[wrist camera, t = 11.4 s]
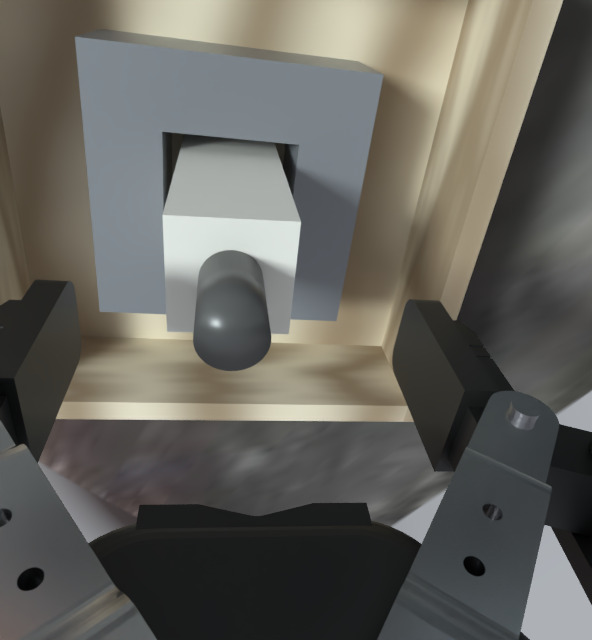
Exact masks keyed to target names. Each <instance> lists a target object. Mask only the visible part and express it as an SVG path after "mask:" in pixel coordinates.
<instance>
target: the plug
mask: <svg viewBox="0 0 592 640" xmlns="http://www.w3.org/2000/svg"><path fill="white" fill-rule="evenodd" d="M162 217H163V242H164V268H165V294H166V319H167V332H191V333H193V345H194V348H195V351H196V353H197V354H198V356H199V357H200V358H201V359H202V360H203V361H204V362H205V363H206V364H208V365H210V366H211V367H214V368H216V369H219V370H224V371H239V370H244V369H247V368H250V367H252V366H254V365H255V364H257V363H258V362H260V361H261V360H262V359H263V358H264V357H265V355H266V354H267V353H268V351H269V348H270V345H271V334H289V328H290V319H291V310H292V300H293V291H294V282H295V273H296V264H297V255H298V246H299V236H300V227H301V220H300V217H299V214H298V211H297V208H296V205H295V202H294V199H293V196H292V193H291V191H290V188H289V185H288V182H287V179H286V176H285V173H284V170H283V167H282V164H281V161H280V158H279V155H278V152H277V149H276V146H275V143H274V142H264V141H254V140H243V139H233V138H223V137H212V136H202V135H192V134H184V137H183V141H182V145H181V148H180V152H179V156H178V159H177V163H176V167H175V171H174V174H173V178H172V182H171V185H170V189H169V193H168V196H167V200H166V204H165V207H164V211H163V215H162Z"/></svg>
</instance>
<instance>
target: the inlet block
mask: <svg viewBox="0 0 592 640" xmlns="http://www.w3.org/2000/svg"><path fill="white" fill-rule="evenodd" d="M75 43H76V54H77V65H78V76H79V88H80V99H81V110H82V121H83V132H84V143H85V154H86V165H87V176H88V187H89V198H90V209H91V220H92V231H93V242H94V254H95V265H96V276H97V287H98V298H99V309H100V312H119V313H144V314H166V294H165V268H164V242H163V217H162V215H163V211H164V207H165V204H166V200H167V196H168V193H169V189H170V185H171V182H172V133H181V134H192V135H202V136H212V137H223V138H233V139H243V140H254V141H264V142H274V143H285V152H284V161H283V170H284V173H285V176H286V179H287V182H288V185H289V188H290V191H291V193H292V196H293V199H294V202H295V205H296V208H297V211H298V214H299V217H300V220H301V227H300V236H299V246H298V255H297V264H296V273H295V282H294V291H293V300H292V310H291V319H293V320H318V321H337V316H338V311H339V305H340V300H341V295H342V290H343V285H344V279H345V274H346V269H347V264H348V258H349V253H350V248H351V243H352V237H353V232H354V227H355V222H356V216H357V211H358V206H359V201H360V196H361V190H362V185H363V180H364V175H365V169H366V164H367V159H368V154H369V148H370V143H371V138H372V133H373V128H374V122H375V117H376V112H377V107H378V101H379V96H380V91H381V86H382V80H383V75H384V74H382V73H380V72H378V71H376V70H374V69H372V68H370V67H368V66H366V65H364V64H363V63H361V62H359V61H353V60H345V59H337V58H329V57H321V56H313V55H305V54H297V53H289V52H281V51H273V50H265V49H257V48H249V47H241V46H234V45H226V44H218V43H210V42H202V41H194V40H186V39H178V38H170V37H162V36H154V35H146V34H138V33H130V32H122V31H114V30H106V29H98V30H95V31H92V32H88V33H85V34H82V35H79V36H75Z"/></svg>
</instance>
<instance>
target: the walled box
mask: <svg viewBox="0 0 592 640" xmlns="http://www.w3.org/2000/svg"><path fill="white" fill-rule="evenodd" d="M562 3H563V0H0V305H2V304H3V303H5V302H7V301H8V300H21V299H22V298H23V297H24V295H25V294H26V292H27V291H28V289H29V288H30V286H31V285H32V283H33V282H34V281H35V280H37V279H40V280H59V281H71V282H72V283H73V285H74V288H75V295H76V302H77V310H78V318H79V326H80V333H81V354H80V359H79V363H78V366H77V368H76V371H75V373H74V375H73V378H72V380H71V383H70V385H69V388H68V390H67V392H66V395H65V397H64V400H63V402H62V405H61V407H60V409H59V412H58V414H57V417H56V419H133V420H263V421H392V422H414V420H413V418H412V416H411V413H410V411H409V408H408V406H407V404H406V401H405V399H404V396H403V394H402V391H401V389H400V387H399V384H398V382H397V379H396V377H395V374H394V371H393V365H392V356H393V349H394V345H395V341H396V337H397V334H398V330H399V326H400V322H401V319H402V315H403V311H404V307H405V305H406V303H407V301H408V300H409V299H419V300H438V301H440V302H441V303H442V305H443V306H444V308H445V309H446V311H447V312H448V314H449V315H450V317H451V318H452V320H457V317H458V314H459V311H460V308H461V305H462V302H463V299H464V296H465V293H466V290H467V287H468V284H469V281H470V278H471V275H472V272H473V269H474V266H475V263H476V260H477V257H478V254H479V251H480V248H481V245H482V242H483V239H484V236H485V233H486V230H487V227H488V224H489V221H490V218H491V215H492V212H493V209H494V206H495V203H496V200H497V197H498V194H499V191H500V188H501V185H502V182H503V179H504V176H505V173H506V170H507V167H508V164H509V161H510V158H511V155H512V152H513V149H514V146H515V143H516V140H517V137H518V134H519V131H520V128H521V125H522V122H523V119H524V116H525V113H526V110H527V107H528V104H529V101H530V98H531V95H532V92H533V89H534V86H535V83H536V80H537V78H538V75H539V72H540V69H541V66H542V63H543V60H544V57H545V54H546V51H547V48H548V45H549V42H550V39H551V36H552V33H553V30H554V27H555V24H556V21H557V18H558V15H559V12H560V9H561V6H562ZM98 29H106V30H114V31H122V32H130V33H138V34H146V35H154V36H162V37H170V38H178V39H186V40H194V41H202V42H210V43H218V44H226V45H234V46H241V47H249V48H257V49H265V50H273V51H281V52H289V53H297V54H305V55H313V56H321V57H329V58H337V59H345V60H353V61H359V62H361V63H363V64H364V65H366V66H368V67H370V68H372V69H374V70H376V71H378V72H380V73H382V74H384V75H383V80H382V86H381V91H380V96H379V101H378V107H377V112H376V117H375V122H374V128H373V133H372V138H371V143H370V148H369V154H368V159H367V164H366V169H365V175H364V180H363V185H362V190H361V196H360V201H359V206H358V211H357V216H356V222H355V227H354V232H353V237H352V243H351V248H350V253H349V258H348V264H347V269H346V274H345V279H344V285H343V290H342V295H341V300H340V305H339V311H338V316H337V321H318V320H293V319H290V328H289V334H271V345H270V348H269V351H268V353H267V354H266V355H265V357H264V358H263V359H262V360H261V361H260V362H258V363H257V364H255V365H254V366H252V367H250V368H247V369H244V370H239V371H224V370H219V369H216V368H214V367H211V366H210V365H208V364H206V363H205V362H204V361H203V360H202V359H201V358H200V357H199V356H198V354H197V353H196V351H195V348H194V345H193V333H191V332H167V319H166V314H144V313H119V312H100V309H99V298H98V287H97V276H96V265H95V254H94V242H93V231H92V220H91V209H90V198H89V187H88V176H87V165H86V154H85V143H84V132H83V121H82V110H81V99H80V88H79V76H78V65H77V54H76V43H75V36H79V35H82V34H85V33H88V32H92V31H95V30H98ZM183 137H184V134H181V133H172V178H173V174H174V171H175V167H176V163H177V159H178V156H179V152H180V148H181V145H182V141H183ZM275 146H276V149H277V152H278V155H279V158H280V161H281V164H282V167H283V161H284V152H285V143H275Z"/></svg>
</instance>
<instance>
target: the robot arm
mask: <svg viewBox="0 0 592 640" xmlns="http://www.w3.org/2000/svg"><path fill="white" fill-rule="evenodd" d="M80 354H81V333H80V326H79V318H78V310H77V302H76V295H75V288H74V285H73V283H72V282H71V281H59V280H40V279H37V280H35V281H34V282H33V283H32V285H31V286H30V288H29V289H28V291H27V292H26V294H25V295H24V297H23V298H22V299H21V300H8V301H7V302H5V303H3V304H2V305H0V640H530V639H528V638H527V637H526V636H525V635H524V634H523V633H522V632H521V626H522V622H523V618H524V613H525V608H526V604H527V599H528V595H529V591H530V586H531V582H532V577H533V572H534V568H535V564H536V559H537V555H538V550H539V546H540V541H541V537H542V532H543V528H544V525H548V526H551V527H552V530H553V531H554V533H555V535H556V537H557V539H558V541H559V543H560V545H561V547H562V549H563V551H564V553H565V555H566V556H567V558H568V560H569V562H570V564H571V566H572V568H573V570H574V572H575V574H576V576H577V578H578V579H579V581H580V583H581V585H582V587H583V589H584V591H585V593H586V595H587V597H588V598H589V601H590V603H591V604H592V432H589V431H584V430H580V429H576V428H572V427H568V426H564V425H560V424H559V421H558V419H557V417H556V415H555V414H554V412H553V411H552V410H551V409H550V408H549V407H548V406H547V405H545V404H544V403H542V402H541V401H539V400H538V399H536V398H534V397H532V396H530V395H527V394H524V393H520V392H516V391H514V390H513V388H512V387H511V385H510V384H509V382H508V381H507V380H506V378H505V377H504V375H503V374H502V372H501V371H500V369H499V368H498V367H497V365H496V364H495V362H494V361H493V359H490V355H489V353H488V352H487V351H486V349H485V348H483V345H482V343H481V342H480V340H479V339H478V338H477V336H476V335H475V333H474V332H473V331H471V330H470V329H469V328H467V327H466V326H465V325H464V324H462V323H461V322H460V321H458V320H452V318H451V317H450V315H449V314H448V312H447V311H446V309H445V308H444V306H443V305H442V303H441V302H440V301H438V300H419V299H409V300H408V301H407V303H406V305H405V307H404V311H403V315H402V319H401V322H400V326H399V330H398V334H397V337H396V341H395V345H394V349H393V356H392V365H393V371H394V374H395V377H396V379H397V382H398V384H399V387H400V389H401V391H402V394H403V396H404V399H405V401H406V404H407V406H408V408H409V411H410V413H411V416H412V418H413V420H414V423H415V425H416V428H417V430H418V433H419V435H420V437H421V440H422V442H423V445H424V447H425V450H426V452H427V454H428V457H429V459H430V462H431V464H432V467H433V469H434V471H454V475H453V477H452V479H451V481H450V483H449V486H448V488H447V490H446V492H445V494H444V497H443V499H442V501H441V503H440V505H439V508H438V510H437V512H436V514H435V516H434V518H433V521H432V523H431V525H430V528H429V530H428V532H427V534H426V536H425V538H424V541H423V543H422V544H421V543H419V542H418V541H416V540H415V539H413V538H412V537H410V536H408V535H406V534H404V533H403V532H401V531H399V530H396V529H394V528H392V527H390V526H387V525H384V524H381V523H378V522H374V521H371V519H370V515H369V511H368V507H367V503H312V504H308V505H304V506H300V507H296V508H292V509H288V510H284V511H280V512H276V513H272V514H268V515H264V516H250V515H245V514H241V513H236V512H231V511H227V510H222V509H217V508H213V507H208V506H203V505H199V504H187V505H140V506H139V512H138V517H137V523H136V524H133V525H129V526H125V527H122V528H120V529H117V530H114V531H111V532H110V533H107V534H105V535H103V536H101V537H99V538H97V539H95V540H93V541H92V542H90V543H88V542H87V541H86V539H85V538H84V536H83V535H82V533H81V531H80V530H79V529H78V527H77V525H76V523H75V522H74V520H73V519H72V517H71V516H70V514H69V512H68V511H67V509H66V508H65V507H64V504H63V503H62V501H61V500H60V498H59V497H58V495H57V494H56V492H55V490H54V489H53V487H52V486H51V484H50V482H49V481H48V479H47V478H46V476H45V474H44V473H43V471H42V470H41V468H40V467H39V465H38V461H39V458H40V456H41V453H42V451H43V448H44V446H45V444H46V441H47V439H48V436H49V434H50V431H51V429H52V427H53V424H54V422H55V419H56V417H57V414H58V412H59V409H60V407H61V405H62V402H63V400H64V397H65V395H66V392H67V390H68V388H69V385H70V383H71V380H72V378H73V375H74V373H75V371H76V368H77V366H78V363H79V359H80Z"/></svg>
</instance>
